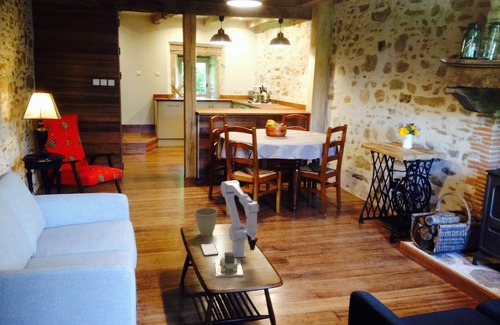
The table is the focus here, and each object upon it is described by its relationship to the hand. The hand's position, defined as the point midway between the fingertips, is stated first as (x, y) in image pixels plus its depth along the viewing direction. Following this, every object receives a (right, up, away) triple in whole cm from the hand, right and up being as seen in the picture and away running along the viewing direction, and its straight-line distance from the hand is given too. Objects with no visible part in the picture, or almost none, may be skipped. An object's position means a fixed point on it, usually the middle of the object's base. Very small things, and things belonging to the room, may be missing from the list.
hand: (251, 247), depth 230 cm
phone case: (-25, -7, +20) cm, 33 cm away
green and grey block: (-12, -8, -5) cm, 15 cm away
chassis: (-12, -11, -4) cm, 17 cm away
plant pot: (-29, -1, +45) cm, 54 cm away
